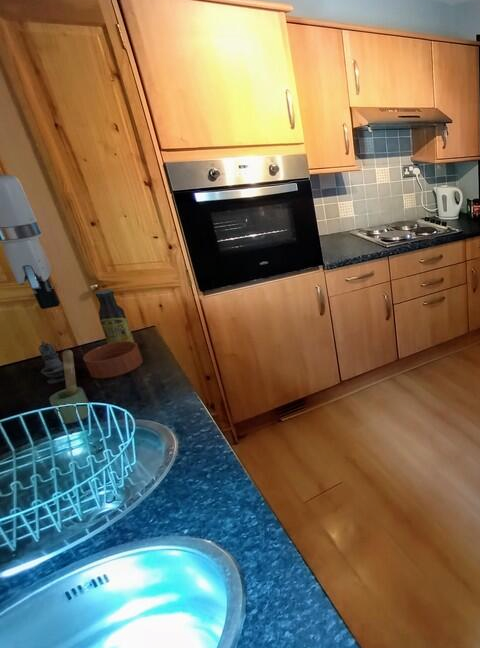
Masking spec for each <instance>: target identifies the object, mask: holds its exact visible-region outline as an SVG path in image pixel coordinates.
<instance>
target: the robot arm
mask: <svg viewBox="0 0 480 648" xmlns="http://www.w3.org/2000/svg"><path fill="white" fill-rule="evenodd" d="M43 236H44V234H43V231H42V229H41V227H40V224H39V222H38V220H37V217H36V215H35V213H34V211H33V209H32V205H31V203H30V201H29V198H28V197H27V193H26V192H25V190H24V188H23V185H22V183H21V180H20V179H19V178H18V177H16V176H14V175H12V174H0V244H2V248H3V251H4V254H5V257H6V260H7V263H8V264H9V267H10V270H11V272H12V274H13V277H14V279H15V282H16V284H17V285H19V286H23V285H24V284H25V283H26V281H27V282H28V284H29V286H30V288H31V290H32V292H33V294H34V297H35V299H36V301H37V303H38V306H39V308H40V309H41V310H46V309H50V308H56V307H59V306H60V303H61V302H60V301H61V300H60V299H59V297H58V294H57V292H56V290H55V288H54V287H53V284H52V282H51V280H50V276H51V274H52V266H51V264H50V261H49V259H48V257H47V254H46V252H45V250H44V247H43V245H42V244H41V241H40V240H39V238H42V237H43Z"/></svg>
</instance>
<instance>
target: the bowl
mask: <svg viewBox="0 0 480 648" xmlns="http://www.w3.org/2000/svg"><path fill="white" fill-rule="evenodd" d="M82 361H83V363H84V365H85V368H86V370H87V372H88V374H89V376H90V377H91V378H95V379H107V378H108V379H109V378H114V377H118V376H122V375H124V374H127V373H130V372H131V371H134V370H135V369H137V368H138V367H141V365H142V363H144V357H143V356H142V353H141V350H140V348H139V345H138V343H137V342H135V341H134V342H132V341H121V342H114V343H110V344H108V343H106V344H103V345H100V346H97V347H95V348H93V349H91V350H89V351H88V352H86V353H85V354H84V355H83V356H82Z"/></svg>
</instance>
